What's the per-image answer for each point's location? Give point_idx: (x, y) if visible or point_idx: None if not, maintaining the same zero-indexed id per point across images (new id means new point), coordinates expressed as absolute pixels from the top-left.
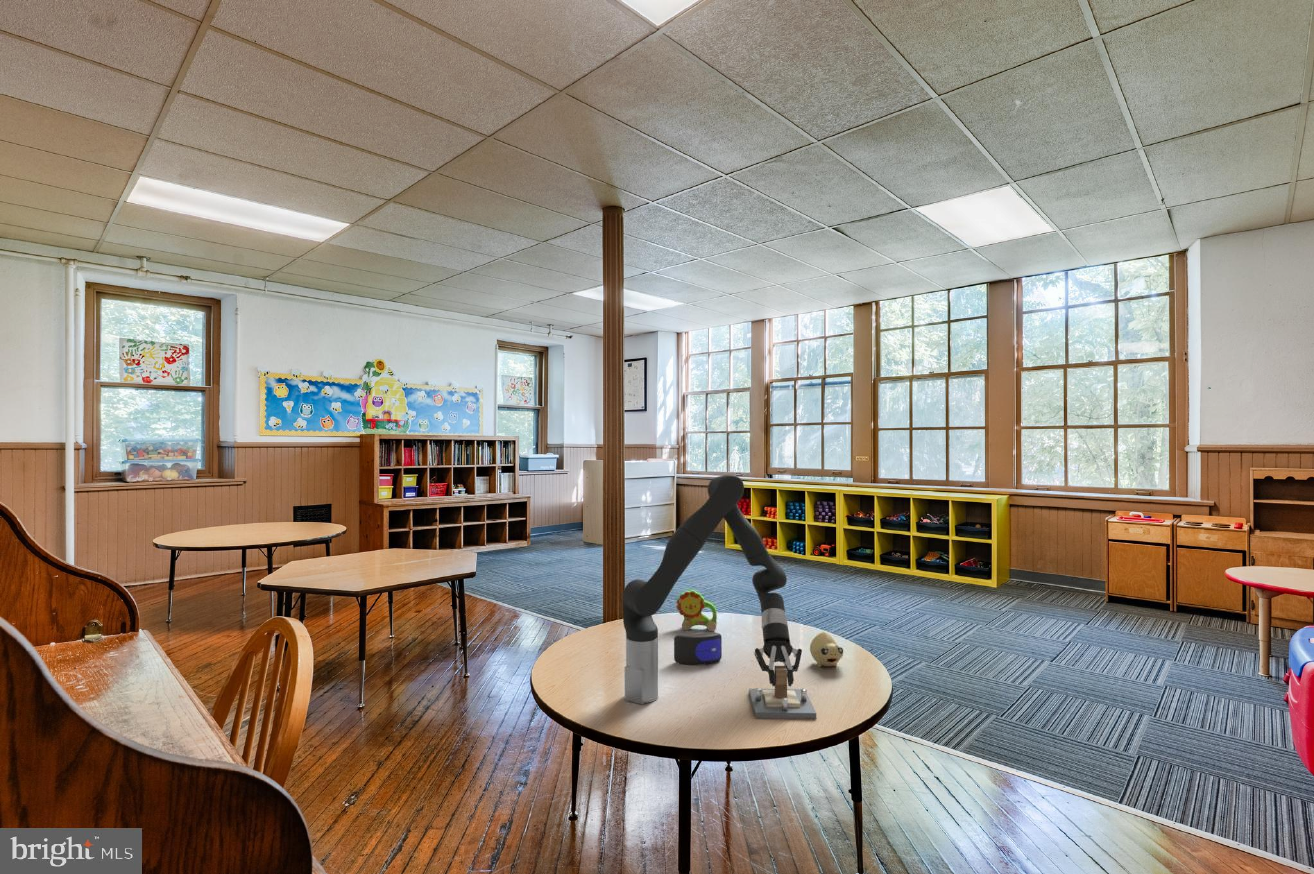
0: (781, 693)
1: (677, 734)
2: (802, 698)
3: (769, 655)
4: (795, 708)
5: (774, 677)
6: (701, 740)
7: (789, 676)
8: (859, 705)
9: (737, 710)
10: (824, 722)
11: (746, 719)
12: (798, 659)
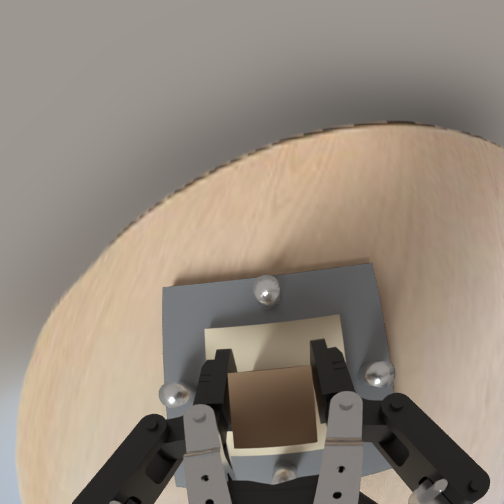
0: (276, 368)
1: (487, 170)
2: (189, 385)
3: (365, 495)
4: (227, 317)
5: (317, 358)
6: (445, 149)
7: (220, 373)
8: (52, 384)
9: (425, 315)
10: (153, 271)
11: (391, 255)
12: (121, 459)
